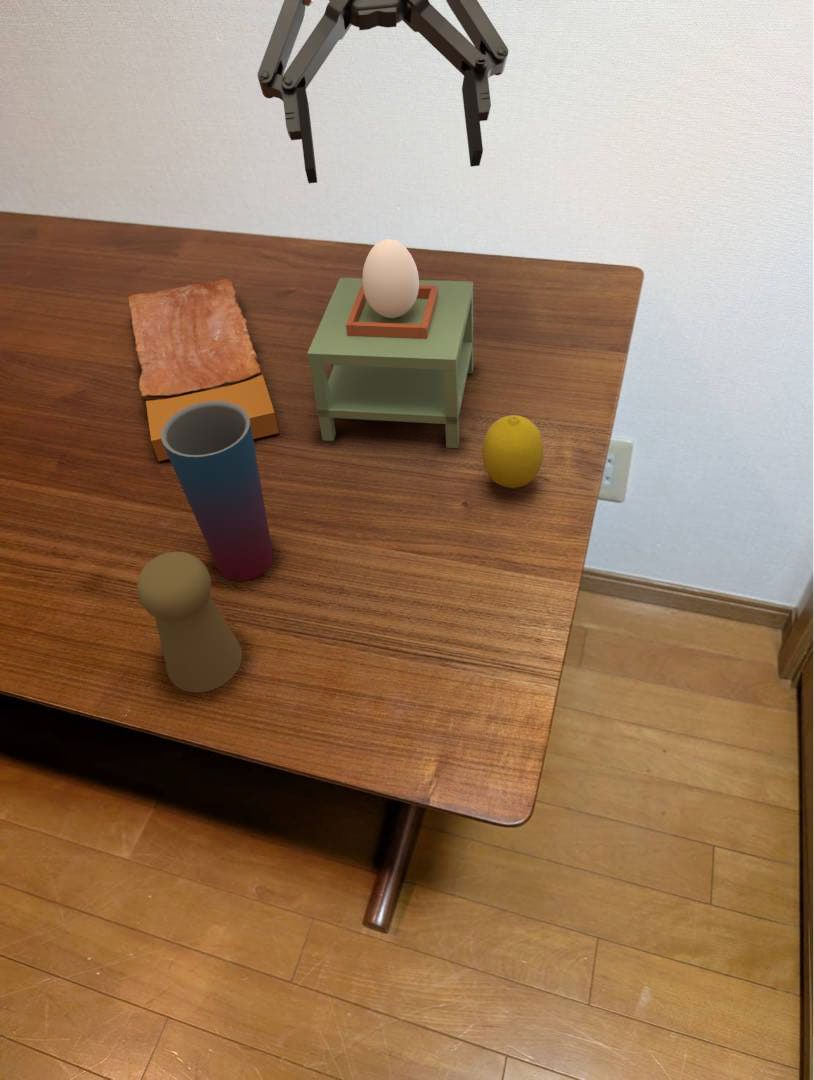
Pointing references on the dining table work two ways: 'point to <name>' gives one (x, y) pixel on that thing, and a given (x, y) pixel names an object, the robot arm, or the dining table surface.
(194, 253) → the dining table surface
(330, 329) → the green side table
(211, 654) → the cork
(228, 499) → the cup
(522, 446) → the lemon
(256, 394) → the salmon fillet board
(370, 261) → the egg
